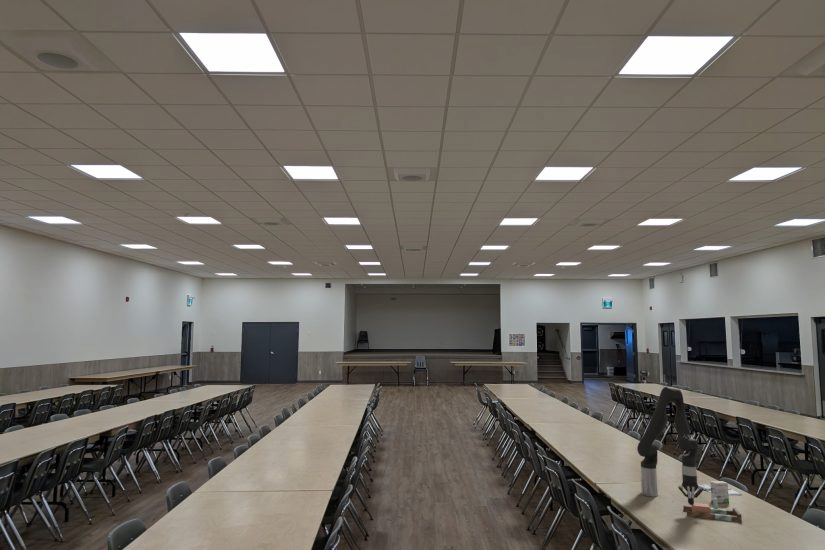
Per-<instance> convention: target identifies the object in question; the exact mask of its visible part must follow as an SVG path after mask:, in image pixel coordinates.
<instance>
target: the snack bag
mask: <svg viewBox="0 0 825 550" xmlns="http://www.w3.org/2000/svg"><path fill="white" fill-rule="evenodd" d="M698 487H699V488H701V489H702V490H703V491H705V492H708V493H710V494H711V485H710V484H698ZM728 494H729V496H742V493H740V492H737V491H736V490H734V489H732V488H731V487H728Z"/></svg>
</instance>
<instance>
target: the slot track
mask: <svg viewBox="0 0 825 550" xmlns="http://www.w3.org/2000/svg"><path fill="white" fill-rule="evenodd" d="M682 507H683V508H682V510H683V511H684V512H686V516H687V517H689V516H691V517H692V518H699V519H700V518H701V519H710V520H719V521H726V522H727V521H728V522H737V523H743V519H742V516H743V515H742V513H740V512H739V510H738V509H737V508H736V507H732V508H731V509H732V510H731V509H721V508H720V509H719V508H718V509H714V507H710V511H711V513H702V512H693V511H692V505H684V504H683V506H682Z"/></svg>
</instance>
